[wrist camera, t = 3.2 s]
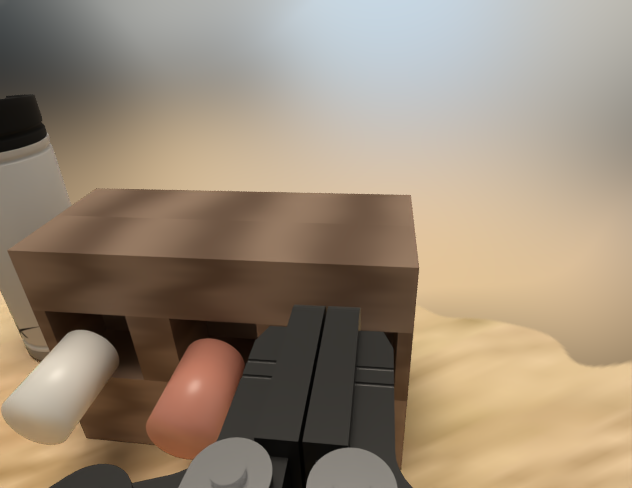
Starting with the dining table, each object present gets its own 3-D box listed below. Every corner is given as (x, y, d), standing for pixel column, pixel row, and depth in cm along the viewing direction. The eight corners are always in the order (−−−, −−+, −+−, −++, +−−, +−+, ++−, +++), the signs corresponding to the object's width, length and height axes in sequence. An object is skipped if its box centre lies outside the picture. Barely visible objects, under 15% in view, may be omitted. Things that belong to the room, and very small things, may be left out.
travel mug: (21, 375, 34) (-108, 106, 25) (34, 324, 40) (-68, 86, 30) (109, 353, 36) (21, 94, 26) (110, 306, 42) (38, 77, 32)
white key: (16, 441, 22) (-10, 393, 20) (72, 372, 26) (54, 328, 24) (77, 447, 21) (56, 399, 20) (125, 376, 25) (110, 331, 24)
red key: (154, 455, 21) (138, 406, 19) (190, 381, 25) (180, 336, 23) (221, 462, 20) (211, 413, 19) (247, 386, 24) (241, 340, 23)
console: (86, 437, 29) (7, 250, 23) (143, 351, 36) (96, 188, 29) (400, 469, 27) (418, 267, 20) (397, 370, 34) (410, 195, 27)
